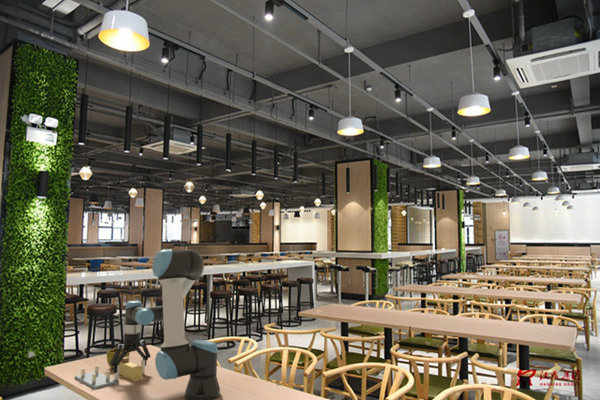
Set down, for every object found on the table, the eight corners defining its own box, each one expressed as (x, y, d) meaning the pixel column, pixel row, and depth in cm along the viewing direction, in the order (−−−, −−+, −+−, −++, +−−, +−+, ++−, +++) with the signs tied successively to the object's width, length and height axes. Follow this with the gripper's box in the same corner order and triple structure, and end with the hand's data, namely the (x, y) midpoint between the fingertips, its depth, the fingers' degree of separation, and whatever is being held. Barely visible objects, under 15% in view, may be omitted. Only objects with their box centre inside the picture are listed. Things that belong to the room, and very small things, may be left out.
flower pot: (119, 370, 215) (120, 352, 216) (104, 369, 217) (105, 351, 218) (129, 365, 224) (130, 348, 225) (115, 364, 225) (116, 347, 226)
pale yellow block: (141, 379, 202) (142, 363, 203) (135, 381, 199) (135, 364, 200) (125, 372, 212) (126, 356, 213) (119, 374, 209) (119, 358, 210)
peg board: (116, 383, 195) (116, 372, 196) (94, 389, 188) (95, 377, 188) (95, 373, 209) (96, 363, 210) (74, 378, 202) (75, 367, 202)
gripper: (151, 327, 220) (148, 368, 218) (104, 335, 201) (101, 380, 199) (158, 329, 215) (156, 371, 213) (111, 337, 196) (108, 384, 194)
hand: (129, 376), depth 206 cm, fingers open, 13 cm apart
